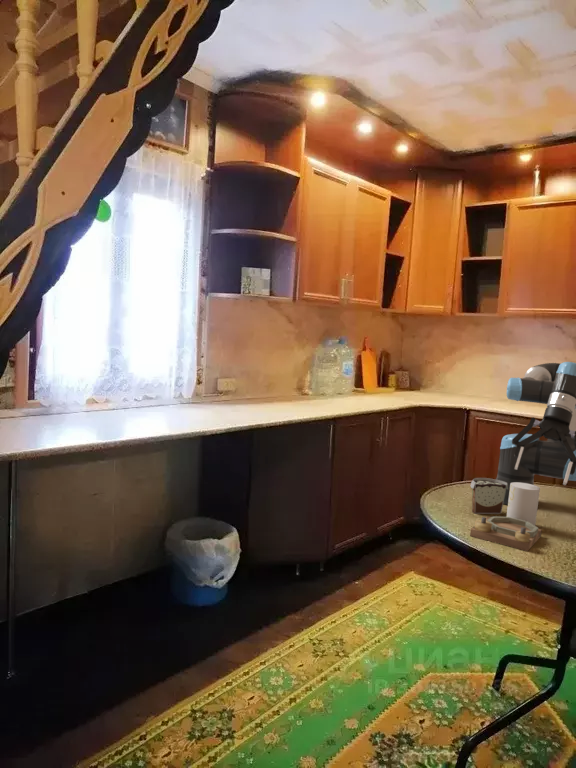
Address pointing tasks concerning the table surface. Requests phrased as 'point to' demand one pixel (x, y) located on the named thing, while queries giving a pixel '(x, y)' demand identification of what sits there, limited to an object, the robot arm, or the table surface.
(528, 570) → the table surface
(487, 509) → the food container
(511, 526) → the gear board
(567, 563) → the table surface
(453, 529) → the table surface
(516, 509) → the tall round pillar
